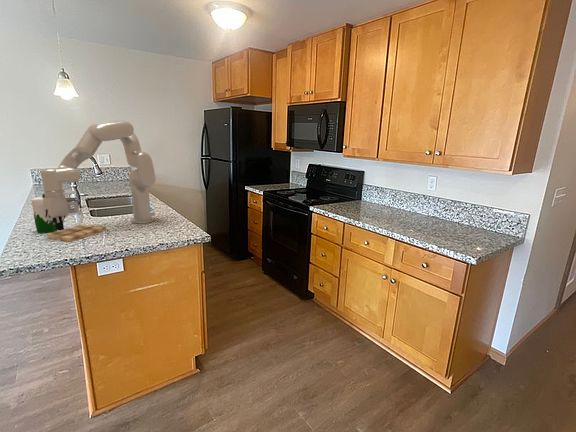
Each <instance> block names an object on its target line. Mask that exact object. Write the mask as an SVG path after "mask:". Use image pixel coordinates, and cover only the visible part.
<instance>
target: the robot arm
mask: <svg viewBox="0 0 576 432" xmlns="http://www.w3.org/2000/svg"><path fill="white" fill-rule="evenodd" d="M134 130H135V129H134V126H133V125H132V123H130V122H129V121H126V120H114V121H110V122H109V123H94V124H91V125H89V126H88V128H87V129H86V131H85V132H84V133H83V135H82V137H81V138H80V139H79V141H78V143H77V144H76V145H75V146H74V148H73V149H72V150H70V151H69V152H68V153H67V155H65V156H64V157H63V159H62V160H61V162H60V163H59V165H58V167H57V168H54V167H53V168H49V167H48V168H43V169H41V170H40V176H41V181H42V186H43V194H45V198H43V211H44V216H45V217H47V220H48V221H53V222H55V226H56V231H59V230H64V229H65V228H64V227H65V225H64V222H65V219H66V218H67V217H69V216H70V215H69V214H68V213H69V208H68V203H67V200H66V198H67V197H66V194H65V195H64V194H63V193H64V192H65V191H66V190H65V189H64V188H63V183H66V184H69V183H70V184H72V183H77V182H78V181H80V179H81V175H82V174H81V172H80V171H79V170H78V168H79V167H80V165H81V164H82V163H84V162H85V161H86V160H87V161H88V160H89V159H91V158H92V157H94V155H95V154H96V152H97V150H98V149H99V147H100V146H101V145H102V143H103V142H110V141H116V140H119V141H120V142H121V143H122V146H123V150H124V155H125V158H126V162H127V164H128V165H129V166H130V167H132V168H136V169H132V170H131V171H130V172H129V175H128V181H129V185H130V190H131V200H132V201H131V202H132V213H133V218H132V219H130V222H131V223H132V224H136V223H139V224H141V223H143V224H149V223H152V222H154V221H153V220H154V218H153V216H155V215H156V212H151V202H150V190H149V188H150V187H152V186H154V185H155V183H156V173H155V168H154V163H153V159H152V157H151V156H150V154H149V153H147V152H146V151H142V148H141V143H140V141H139V138H138V136H137V135H136V133H135V131H134ZM55 218H56V219H55Z"/></svg>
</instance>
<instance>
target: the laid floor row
mask: <svg viewBox="0 0 576 432" xmlns="http://www.w3.org/2000/svg"><path fill="white" fill-rule="evenodd" d="M92 226H93V227H90V228H87V229H84V230H80V231H77V232H74V233H70V234H67V235H64V236H60V240H59V241H60V242H66V243H72V242H75V241H78V240H81V239H84V238H87V237H89V236H93V235H97V234H100V233H103V232H105V231H107V227H106V226H103V225H92Z"/></svg>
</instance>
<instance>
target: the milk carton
mask: <svg viewBox="0 0 576 432" xmlns="http://www.w3.org/2000/svg"><path fill="white" fill-rule="evenodd" d="M43 198H45V194H44V193H42V195H41V196H38V197H34V198H32V199H31V205H32V207H31V208H32V212H33V218H34V224H35V229H36V233H37V234H48V233H52V232H55V231H57V230H56V226H55V222H53V221H48V220H47V217H45V216H44V211H43ZM55 219H56V218H55Z"/></svg>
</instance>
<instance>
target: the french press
mask: <svg viewBox="0 0 576 432" xmlns="http://www.w3.org/2000/svg"><path fill="white" fill-rule="evenodd" d="M67 186H68V189H66V190H64V191H65V192H64V193H63V194H64V195H65V196H66V195H69V196H71V195H75V194H77V193H78V192H77V191H75V190H73V189H70V188H69V187H70V186H69V184H67ZM66 200H67V203H68V208H69V213H68V214H69V216H74V215H78V214H81V211H80V210H79V203H78V199H77V197H66Z"/></svg>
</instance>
